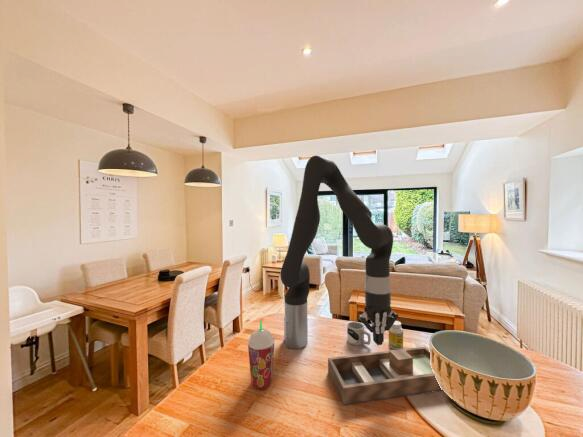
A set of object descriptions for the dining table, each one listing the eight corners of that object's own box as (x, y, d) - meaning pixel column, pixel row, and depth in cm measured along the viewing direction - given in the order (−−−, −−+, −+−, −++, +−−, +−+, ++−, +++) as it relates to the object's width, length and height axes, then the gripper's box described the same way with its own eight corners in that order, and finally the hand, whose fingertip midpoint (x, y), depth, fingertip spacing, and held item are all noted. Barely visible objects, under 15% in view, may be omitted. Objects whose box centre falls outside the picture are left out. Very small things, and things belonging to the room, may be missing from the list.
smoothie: (279, 377, 81) (278, 317, 80) (268, 395, 73) (267, 329, 72) (256, 372, 83) (255, 313, 82) (243, 389, 75) (242, 325, 75)
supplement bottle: (393, 341, 101) (393, 318, 101) (406, 347, 97) (406, 323, 96) (385, 345, 98) (385, 321, 98) (397, 351, 94) (398, 327, 93)
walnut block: (398, 375, 76) (398, 359, 76) (389, 365, 81) (389, 350, 81) (412, 373, 77) (413, 357, 77) (403, 363, 82) (403, 348, 82)
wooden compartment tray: (343, 405, 69) (343, 388, 69) (328, 372, 83) (327, 357, 82) (456, 388, 75) (457, 372, 74) (424, 360, 88) (424, 346, 88)
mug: (344, 341, 102) (344, 325, 101) (353, 335, 106) (353, 320, 106) (365, 351, 94) (365, 334, 94) (374, 344, 99) (374, 328, 99)
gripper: (390, 283, 82) (390, 335, 82) (352, 286, 79) (353, 339, 80) (404, 291, 74) (404, 347, 75) (363, 294, 72) (364, 353, 73)
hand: (378, 343), depth 77 cm, fingers closed
